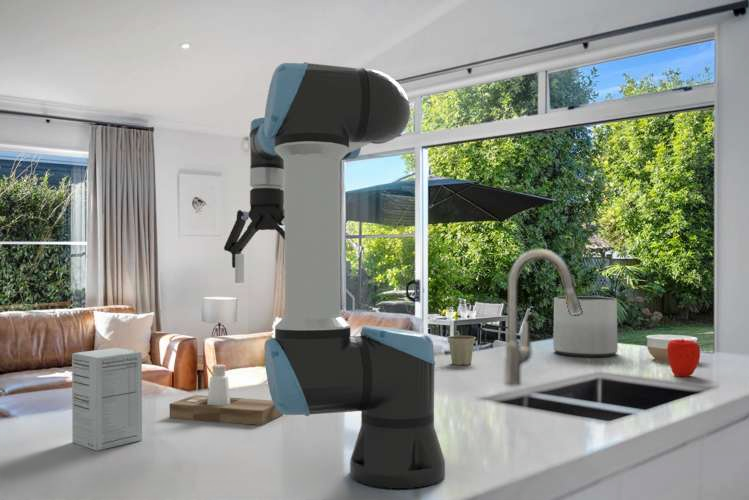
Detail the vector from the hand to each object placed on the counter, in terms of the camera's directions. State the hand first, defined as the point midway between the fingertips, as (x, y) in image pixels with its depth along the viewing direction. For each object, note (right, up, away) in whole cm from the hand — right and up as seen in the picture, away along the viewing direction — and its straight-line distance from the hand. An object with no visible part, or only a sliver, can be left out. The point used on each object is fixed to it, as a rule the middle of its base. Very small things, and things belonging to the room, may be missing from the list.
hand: (266, 283), depth 155 cm
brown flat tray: (-8, -29, -5) cm, 30 cm away
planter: (+100, -30, +94) cm, 141 cm away
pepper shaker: (-10, -29, -5) cm, 31 cm away
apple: (+115, -30, +47) cm, 128 cm away
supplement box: (-26, -29, -26) cm, 46 cm away
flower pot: (+52, -30, +69) cm, 92 cm away
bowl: (+124, -30, +78) cm, 150 cm away
